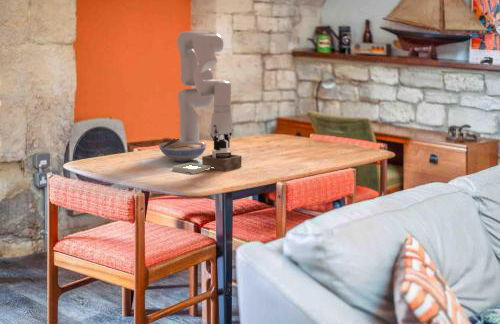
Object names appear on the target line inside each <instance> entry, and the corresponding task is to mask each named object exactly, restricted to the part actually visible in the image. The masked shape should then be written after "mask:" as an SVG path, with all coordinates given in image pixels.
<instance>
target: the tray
mask: <svg viewBox="0 0 500 324" xmlns="http://www.w3.org/2000/svg"><path fill="white" fill-rule="evenodd" d="M189 165H192V166H198V167H201V168H197V169H188V168H183V167H186V166H189ZM208 168H211V166H209V165H203V164H201V163H196V162H187V163H182V164H177V165H173V166H172V168H171V169H172V171H174V172H179V171H180V172H179V173H185V172H190V173H191V174H192V175H195V174H199V173H203V172H202V171H203V170H205V169H208ZM190 173H189V174H190ZM191 174H190V175H191Z"/></svg>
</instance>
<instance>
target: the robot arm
mask: <svg viewBox="0 0 500 324" xmlns="http://www.w3.org/2000/svg"><path fill="white" fill-rule="evenodd" d="M176 40H177V41H176V44H177V45H176V46H177V50H178V53H179V56H180V57H179V58H180V82H181V84H182V85H183V86H188V87H192V86H193V87H194V86H195V88H193V87H192V88H183V89H181V90H180V91H178V93H177V102H178V108H179V141H191V142H200V117H199V114H198V113H197V111H196V110H195V109H198V108H199V109H200V108H202V109H203V108H209V107H211V106H212V105H213V112H212V115H211V121H210V123H211V124H210V134H209V135H210V137H211V138H212V141H213V150H220V141H219V140H221V136H223V139H222V140H227V141H228V149H229V148H230V141H231V136H232V134H233V132H234V129H233V125H232V124H233V123H232V122H233V121H232V112H231V108H232V106H231V104H232V102H231V101H232V83H231V82H230V81H227V80H225V79H223V78H222V79H220V78H215V79H214V74H213V71H212V68H214V67H215V66H216V64H217V62H218V61H217V60H218V59H217V57H216V54H215V53H219V52H221V51H222V50H223V49H224V40H223V38H222V36H221V35H220V34H219V33H216V32H214V31H208V30H205V31H203V30H201V31H200V30H197V31H196V30H187V31H182V32H180V33H179V34H178V35H177V39H176Z"/></svg>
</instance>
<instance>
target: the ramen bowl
mask: <svg viewBox="0 0 500 324" xmlns="http://www.w3.org/2000/svg"><path fill="white" fill-rule="evenodd" d="M207 146H208V145H207V143H204V142H200V141H199V142H191V141H180V138H177V139H176V138H173V139H172V140H170V141H167V142H166V141H165V142H162V143H159V144H158V148H159V149H160V151H161V153H162V154H163V155H164V156H165V157H167V158H168V159H170V160H173V161H175V162H178V161H187V162H190V160H191V161H192V160H194V159H196V158H199V157H200V156H201V155H202V154H203V153H204V152H205V150H206V149H207Z"/></svg>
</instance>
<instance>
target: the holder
mask: <svg viewBox="0 0 500 324" xmlns="http://www.w3.org/2000/svg"><path fill="white" fill-rule="evenodd" d="M242 158H243V157H242V155H238V154H232V153H231V158H228V159H218V158H212V153H211V154H208V155H203V156H201V159H202V161H201V163H202V164H203V165H209V166H211V167H214V168H215V169H214V170H216V171H223V172H225V171H226V172H227V171H229V170H234V169H237V168H241V167H242Z"/></svg>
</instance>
